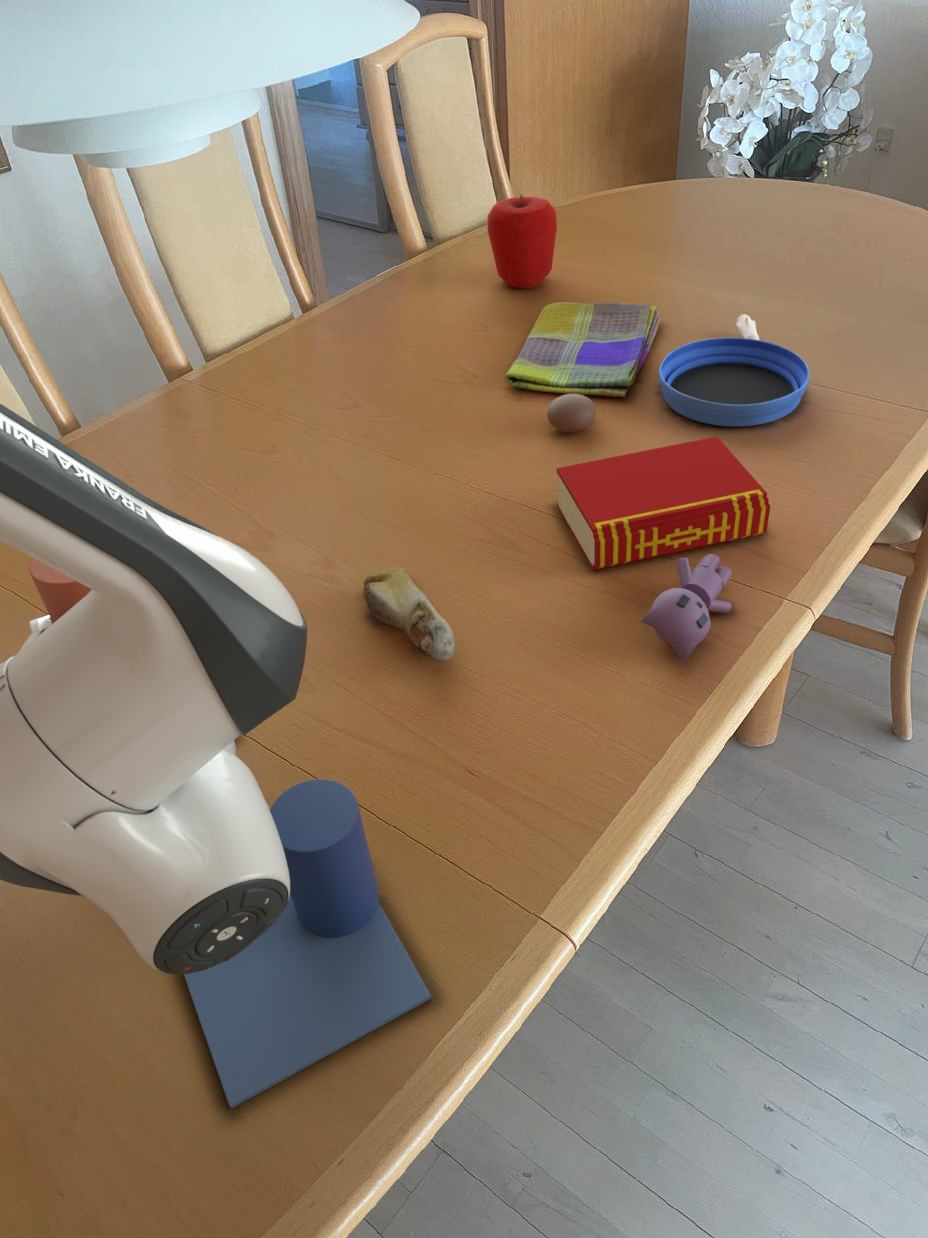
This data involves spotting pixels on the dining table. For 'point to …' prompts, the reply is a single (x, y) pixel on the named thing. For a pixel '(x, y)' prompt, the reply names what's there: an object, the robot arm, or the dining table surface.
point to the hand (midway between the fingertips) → (96, 605)
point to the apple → (522, 239)
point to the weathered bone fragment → (409, 612)
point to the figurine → (689, 605)
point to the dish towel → (585, 348)
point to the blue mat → (300, 999)
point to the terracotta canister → (56, 589)
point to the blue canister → (326, 857)
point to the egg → (571, 412)
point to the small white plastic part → (747, 327)
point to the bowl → (733, 381)
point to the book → (660, 502)
